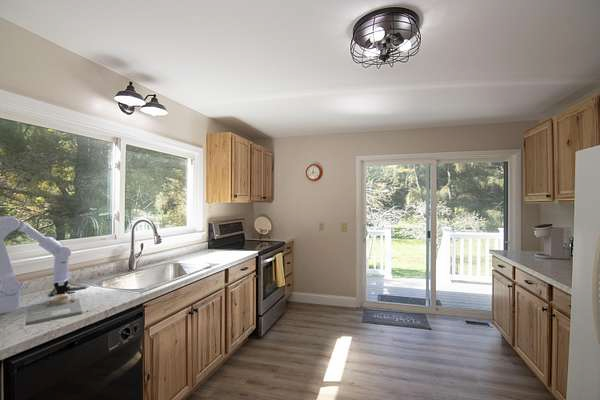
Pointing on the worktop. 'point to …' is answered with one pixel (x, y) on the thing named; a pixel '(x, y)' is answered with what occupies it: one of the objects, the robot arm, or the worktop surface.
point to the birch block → (60, 299)
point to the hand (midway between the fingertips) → (60, 296)
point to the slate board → (45, 310)
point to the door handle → (67, 290)
